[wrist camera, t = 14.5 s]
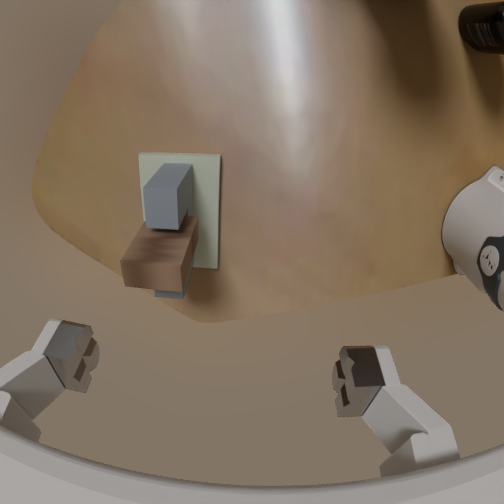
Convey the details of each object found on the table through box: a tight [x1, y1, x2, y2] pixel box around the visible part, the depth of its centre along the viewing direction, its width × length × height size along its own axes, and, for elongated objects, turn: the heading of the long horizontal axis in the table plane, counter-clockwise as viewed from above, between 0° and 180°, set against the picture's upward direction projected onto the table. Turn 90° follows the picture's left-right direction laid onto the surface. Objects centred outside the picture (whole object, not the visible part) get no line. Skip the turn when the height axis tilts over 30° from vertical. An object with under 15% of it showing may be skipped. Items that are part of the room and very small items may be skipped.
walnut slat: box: [120, 216, 199, 292], centre depth 34 cm, size 6×3×10 cm, turn 86°
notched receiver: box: [139, 153, 221, 299], centre depth 38 cm, size 10×16×9 cm, turn 176°
